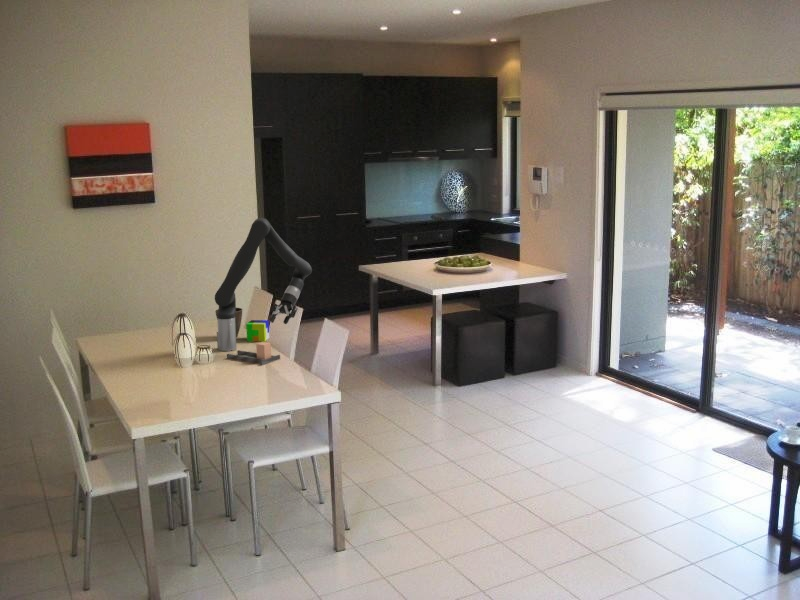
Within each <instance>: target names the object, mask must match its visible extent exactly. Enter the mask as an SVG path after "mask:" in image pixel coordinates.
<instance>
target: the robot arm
mask: <svg viewBox="0 0 800 600" xmlns="http://www.w3.org/2000/svg"><path fill="white" fill-rule="evenodd" d="M263 240H266V241H267V242H268V243H269V244H270V245H271V246H272V248H273V249H274V251H275V252H276V253H277V255H278V256H279V257H280V258H281V259H282V260H283V262H284V263H286V264H287V265H288V266H289V267H294V268H295V269H294V271H293V272H292V273H293V274H292V277H291V280H290V282H289V284H288V286H287V287H286V289H285V291H284V293H283V295H282V297H281V298H280V303H279V304H277V303H274V304H273V305H272V307H271V309H270V311H269V314H270V315H271V316H270V318H269V321H270V322H271V324H273V323H274V322H275V320H276V317H277V316H279V315H282V314H284V315H286V316H285V318H284V319H283V324H284V325H287V324H288V323H289V322H290V319H291V318H295V317H296V314H297V311H298V307H297V306H296V303H297V301H298V299H299V297H300V294H301V292H302V290H303V288H304V285H305V283H304V281H305V279H306V278H307V277H308V276H310V275H311V274H312V273H313V268H312V266H311V265H310V263H309V262H308V261H306V260H305V259H303V258H302V257H300V256H299V255H298V254H297V253H296V252H295V251H294V250H293V249H292V248H291V247H290V246H289V245H288V244H287V243H286V242H285V241H284V240H283V239H282V237H280V235H279V234H278V232H277V231H275V229H274V228H273V226H272V224H271V223H270V222H269V220H268V219H267V218H264V217H258V218H255V220H254V221H253V223H252V224H251V225H250V230H249V232H248V234H247V237H246V239H245V241H244V243H243V244H242V245H241V247H240V248H239V250H238V251H237V253H236V255H235V257H234V258H233V261H232V262H231V265H230V267H229V269H228V271H227V273H226V276H225V278H224V280H223V281H222V283H221V285H220V286H219V288H217V289H218V290H216V292H215V294H214V301H215V303H216V305H217V306H218V313H217V317H216V320H218V321H217V331H216V342H217V343H216V344H217V350H219V351H221V352H231V350H232V351H235V350H237V349H238V347H237V338H236V325H235V312H236V308H237V305H236V303H237V302H236V301H237V300H236V299H237V298H236V289H237V287H238V285H239V284H240V283H241V281H243V279H244V278H245V276H246V275H247V273H248V272H249V270H250V269H251V267H252V264H253V262H254V260H255V257H256V255H257V252H258V249H259V247H260V245H261V244H262V242H263Z"/></svg>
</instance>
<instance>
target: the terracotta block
mask: <svg viewBox="0 0 800 600" xmlns="http://www.w3.org/2000/svg"><path fill="white" fill-rule="evenodd" d="M271 344H272V343H271V342H267V341H265V342H258V343H256V353H257V358H258V359H264V360H265V359H268V358H271V355H272V345H271Z"/></svg>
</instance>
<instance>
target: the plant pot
mask: <svg viewBox="0 0 800 600" xmlns="http://www.w3.org/2000/svg"><path fill="white" fill-rule="evenodd" d="M218 309H219V308H218ZM218 309H216V310H215V312H214V313H215V316H216V318H217V313H218ZM242 317H243V308H241V307H236V312H235V325H236V337H237V338H238V336H239V334H240V333H239V332H240V328H241V325H242ZM216 320H217V319H216ZM217 322H218V320H217Z"/></svg>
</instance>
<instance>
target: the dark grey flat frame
mask: <svg viewBox="0 0 800 600" xmlns="http://www.w3.org/2000/svg"><path fill="white" fill-rule="evenodd" d="M236 353H237V354H233V353H226V358H224V360H226V361H232V362H239V363H244V364H250V365H255V366H256V365H257V366H264V365H268V364H270V363H272V362H276V361H278V360H281V354H277V355H272V354H271V358H268V359H265V360H264V359H258V358H257V352H251V351H245V350H237V352H236Z"/></svg>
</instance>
